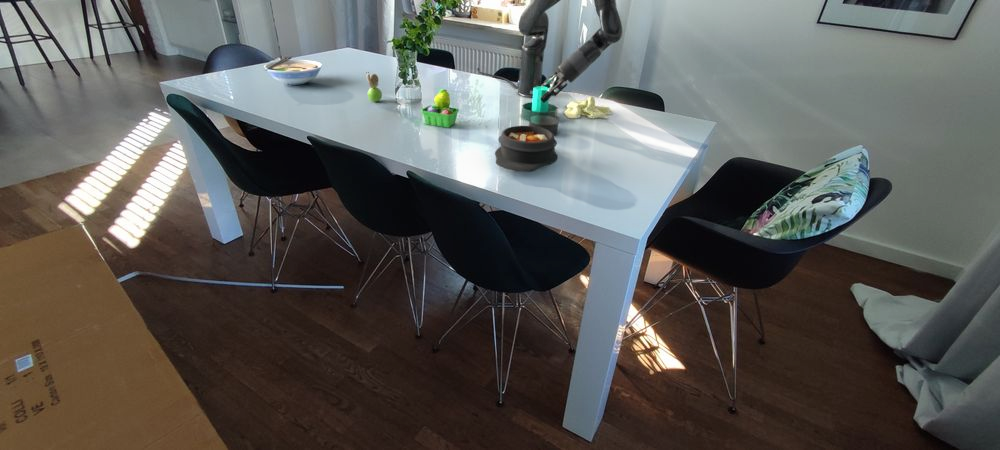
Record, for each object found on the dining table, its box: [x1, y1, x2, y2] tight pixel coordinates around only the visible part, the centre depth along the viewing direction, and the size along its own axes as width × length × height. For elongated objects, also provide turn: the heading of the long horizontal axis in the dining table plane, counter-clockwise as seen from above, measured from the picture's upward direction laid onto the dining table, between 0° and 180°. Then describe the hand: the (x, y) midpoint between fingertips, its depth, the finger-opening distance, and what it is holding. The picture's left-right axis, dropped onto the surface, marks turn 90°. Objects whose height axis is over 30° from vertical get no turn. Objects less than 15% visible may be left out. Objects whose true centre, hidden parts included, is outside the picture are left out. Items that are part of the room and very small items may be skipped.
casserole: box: [494, 125, 559, 173], centre depth 139 cm, size 25×19×8 cm
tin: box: [521, 101, 559, 122], centre depth 178 cm, size 13×13×4 cm
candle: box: [531, 85, 550, 112], centre depth 176 cm, size 6×6×12 cm
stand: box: [528, 115, 560, 136], centre depth 164 cm, size 11×11×4 cm
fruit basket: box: [420, 88, 459, 128], centre depth 164 cm, size 11×9×11 cm
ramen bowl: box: [263, 56, 323, 86], centre depth 203 cm, size 25×23×8 cm
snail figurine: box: [365, 71, 383, 103], centre depth 183 cm, size 5×6×12 cm
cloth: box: [564, 96, 612, 119], centre depth 185 cm, size 22×19×6 cm
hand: (539, 97), depth 175 cm, fingers open, 8 cm apart
